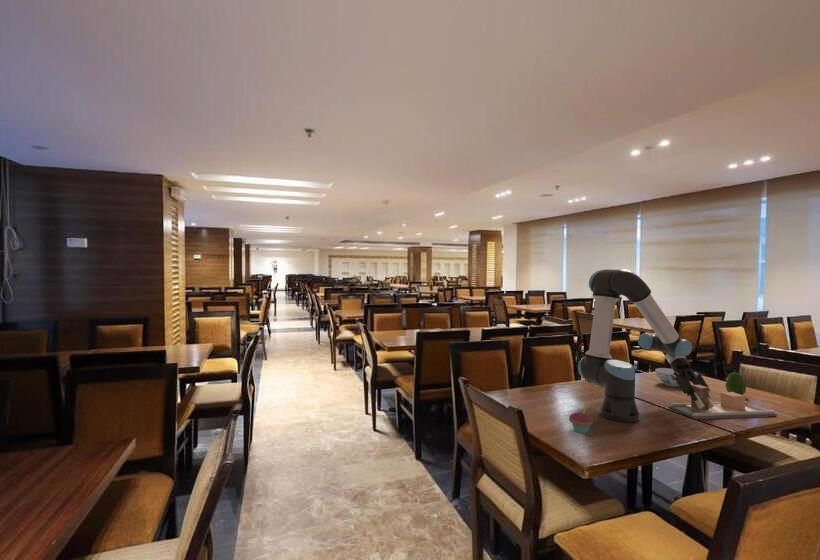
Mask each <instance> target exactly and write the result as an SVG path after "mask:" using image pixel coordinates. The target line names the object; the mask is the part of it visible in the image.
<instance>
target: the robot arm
mask: <svg viewBox="0 0 820 560" xmlns="http://www.w3.org/2000/svg"><path fill="white" fill-rule="evenodd" d="M588 286H589V287H588V288H589V289H590V291H591V293H592V298H593V299H594V300H595V301H594V309H593V317H592V324H591V332H590V333H591V334H590V339H589V340H590V341H589V347H588V348H589V349H588V350H587V351H585V353H584V356H583V357H581V359H580V360H579V361H578V365H577V371H578V374H579V375H580V377H581V379H583V380H584V381H586V382H588V383H590V384H594V385H597V386H600V387H602V388H604V396H603V400H602V403H601V405H600V408H599V414H600V416H602V417H603V418H605V419H608V420H612V421H615V422H622V423H634V422H635V423H636V422H639V420H640V418H641V417H640V412H639V408H638V405H637V403H636V371H635V367H634V366H633V364H631V363H629V362H627V361H623V360H619V359H613V357H612V355H611V354H610V349H611V343H612V334H613V326H614V318H615V309H616V303H617V302H618V301H620V300H621V296H624V297H625V298H626V299H627V300H628V301H629V302H630V303H632V304H634V306H635V307H636V308H637V310H638V311H639V313H640V314H641V315H642V317H643V318H644V320H645V321H646V322H647V324H648V325H649V326H650V328H651V329H652V331H653V332H654V333H655V334H654V333H653V334H652V333H650V332H648V333H641V334H640V335H639V336H638V337H637V338H638V339H637V342H638V345H639V347H640V348H642V349H645V350H651V351H657V352H661V353H662V354H663V355H664V357H665V359H666V361H667V362H668V364H670V365H669V366H670V367H671V369H673V371H675V372H674V373H673V374H672V375H671V376H672V377H673V378H674V379H675V380H676V382H677V383H678V386H679V388H680V389H681V391H682V392H683V394H686V395H687V396H689V397H690V399H691V398H692V400H693V401H695V403H696V404H697V406H698V408H699V409H701V408H703V407H704V404H703V403H702V401H701V399H700V398H699V396H698V395H697V393H696V392H694V391H693V389H692V386H691V385H702V386H705V387H708V388H709V392H710V391H711V389H710V387H709V386H708V384H707V382H706V380H705V379H704V378H703V375H702V373H701V372H700V371H698V372H697V371H695V370H694V369H693V368H692V366H691V363H690V362H689V360H688V359H687V356H689V355H691V352H692V350H693V345H692V343H691V341H689V340H688V339H685V338H682V337H681V336H680V335H679V333H678V332H677V330H676V329H675V327H674V326H673V325H672V323H671V322H670V320H669V319H668V317H667V316H666V314H665V313H664V312H663V310H662V309H661V307H660V306H659V304H658V303H657V302H656V300H655V298H654V297H653V296H652V290H651V288H650V287H649V286H648V284H647V282H645V281H644V280H643V279H642V278H641V277H640V276H639V275H637V274H636V273H635V272H633V271H632V270H628V269H625V268H624V269H622V268H621V269H601V270H600V269H599V270H597V271H595V272H594V273H592V274H591V275H590V277H589V280H588ZM693 392H694V393H693ZM713 402H714V401H712V397H711V396H710V395H709V409H711V408H712V407H714V406H715V405H714V404H713Z"/></svg>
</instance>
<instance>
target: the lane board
mask: <svg viewBox="0 0 820 560" xmlns="http://www.w3.org/2000/svg"><path fill="white" fill-rule="evenodd" d="M712 402H713V404H721V401H712ZM669 404H670V405H668V408H669V409H671V410H673V411H676V412H678V413H680V414H683V415H684V416H687V417H689V418H692V419H694V420H715V419H717V418H720V419H743V418H746V417H748V418H765V417H766V418H768V417H767V416H776V417H777V415H778V414H777V413H776V412H775V410H774V409H768V410H765V409H762V408H759V407H757V406H753V405H751V404H748V401H746V400H745V407H748V408H751V409H754V410H757V411H735V412H705V413H699V412H697V411H695V410H692V409H690V408H687V407H686V405H691V402H681V403H679V402H678V403H677V402H675V403H672V402H671V403H669Z"/></svg>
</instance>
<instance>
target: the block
mask: <svg viewBox="0 0 820 560" xmlns="http://www.w3.org/2000/svg"><path fill="white" fill-rule="evenodd" d="M745 401H746V395H744V394H743V395H740V394H737V393H734V392H728V391H726V392H725V391H724V392H723V391H722V392H721V391H720V402H721V406H723V407H726V408H729V409H732V410H745Z"/></svg>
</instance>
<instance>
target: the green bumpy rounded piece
mask: <svg viewBox="0 0 820 560" xmlns="http://www.w3.org/2000/svg"><path fill="white" fill-rule="evenodd" d="M726 379H727V380H726V381H725V389H726V392H734V393H737V394H740V395H743V396H744V395H745V393H746V391H747V386H746V383H745V381H744V379H743V376H742V375H741V374H739V373H738V372H735V371H734V372H730V373H729V374H728V376H727V378H726Z"/></svg>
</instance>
